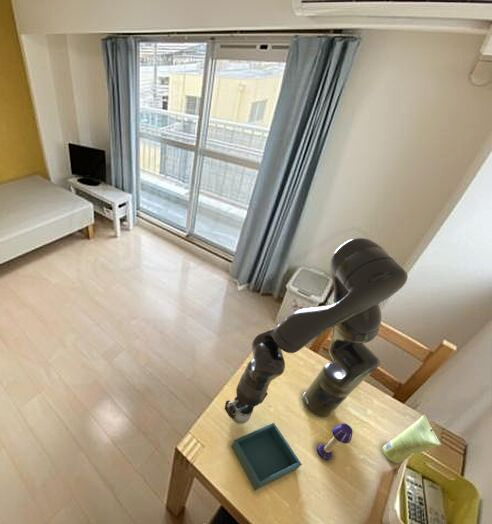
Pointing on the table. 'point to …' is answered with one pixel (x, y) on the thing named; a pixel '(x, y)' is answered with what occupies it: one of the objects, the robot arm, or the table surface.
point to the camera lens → (243, 415)
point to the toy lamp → (335, 440)
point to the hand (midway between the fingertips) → (240, 412)
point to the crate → (265, 456)
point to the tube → (411, 441)
